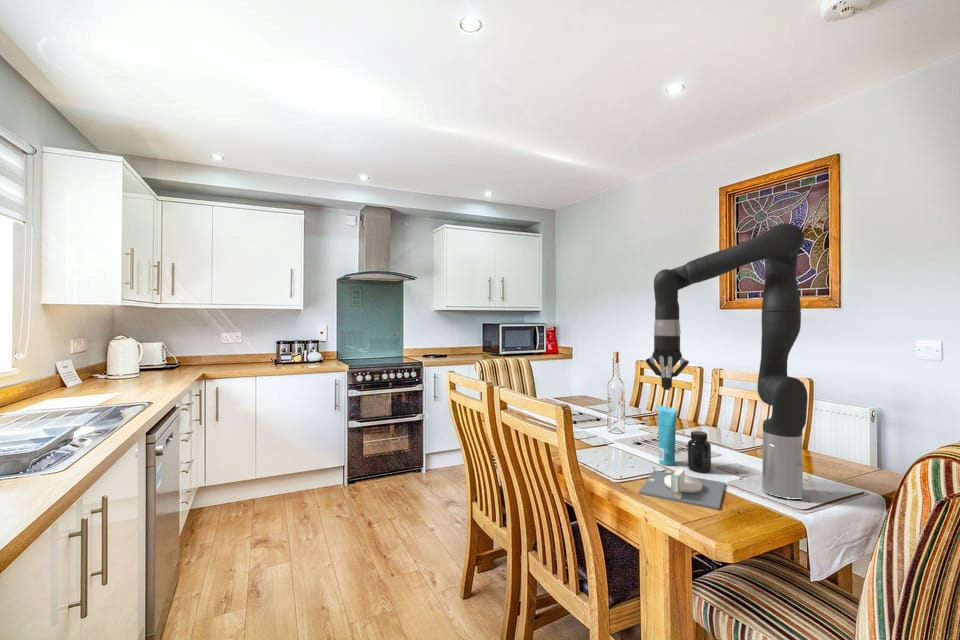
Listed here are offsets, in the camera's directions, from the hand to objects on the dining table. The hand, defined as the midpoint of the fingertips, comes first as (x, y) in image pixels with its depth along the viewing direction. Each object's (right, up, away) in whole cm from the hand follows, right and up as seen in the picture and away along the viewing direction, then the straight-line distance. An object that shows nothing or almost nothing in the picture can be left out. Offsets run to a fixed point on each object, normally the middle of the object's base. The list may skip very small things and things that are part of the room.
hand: (666, 389), depth 140 cm
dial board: (0, -27, -10) cm, 29 cm away
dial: (-1, -26, -12) cm, 29 cm away
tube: (+5, -27, +12) cm, 30 cm away
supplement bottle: (+13, -27, +6) cm, 30 cm away
